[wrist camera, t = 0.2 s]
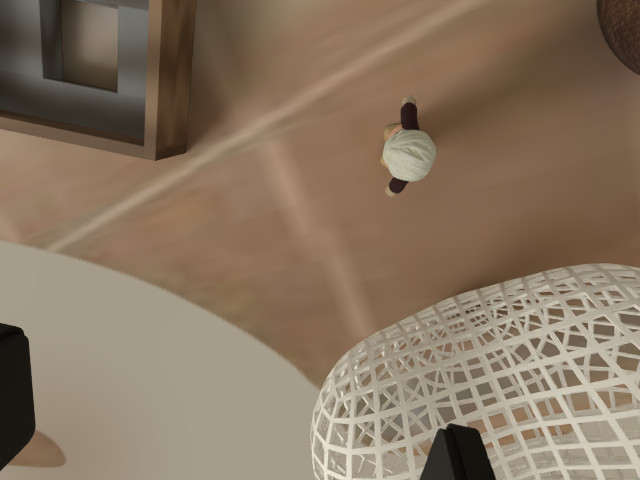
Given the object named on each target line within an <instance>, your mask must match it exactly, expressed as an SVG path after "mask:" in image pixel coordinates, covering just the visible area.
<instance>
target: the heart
mask: <svg viewBox="0 0 640 480" xmlns="http://www.w3.org/2000/svg"><path fill="white" fill-rule="evenodd" d="M583 271H591V272H583ZM597 276H603V277H604V278H593V277H597ZM620 276H627V277H635V278H636V279H625V278H622V277H620ZM551 279H555V280H552V281H551ZM637 279H638V280H637ZM541 280H545V281H544V282H542V281H541ZM585 282H590V283H591V284H593V285H594V286H586V284H585ZM600 282H608V283H604V284H601V283H600ZM573 283H576V284H577V285H578V286H576V285H575V284H573ZM561 284H565V285H567V286H563V287H555V286H557V285H561ZM532 287H533V288H532ZM635 287H640V268H636V267H631V266H625V265H619V264H609V263H604V264H585V265H577V266H569V267H563V268H558V269H553V270H548V271H544V272H540V273H536V274H533V275H529V276H525V277H521V278H517V279H514V280H510V281H506V282H502V283H498V284H495V285H491V286H487V287H484V288H479V289H475V290H472V291H468V292H465V293H462V294H459V295H456V296H453V297H451V298H448V299H446V300H443V301H441V302H439V303H436V304H434V305H432V306H430V307H428V308H426V309H424V310H422V311H420V312H418V313H416V314H414V315H412V316H410V317H408V318H406V319H404V320H401V321H399V322H397V323H395V324H393V325H391V326H389V327H387V328H385V329H383V330H381V331H379V332H377V333H375V334H374V335H372V336H370V337H368V338H367V339H365V340H363V341H362V342H360V343H359V344H358V345H356V346H355V347H353V348H352V349H351V350H349V351H348V352H347V353H346V354H345V355H344V356H343V357H341V358H340V360H339V361H338V362H337V364H336V365H335V366H334V368H333V369H332V371H331V372H330V374H329V375H328V377H327V379H326V380H325V382H324V385H323V387H322V390H321V392H320V395H319V397H318V400H317V403H316V406H315V408H314V412H313V418H312V424H311V433H310V436H311V450H312V460H313V469H314V472H315V477H316V480H335V478H338V479H340V480H401V479H404V480H407V478H411V480H420V476H419V475H420V474H422V472H423V469H424V466H425V463H426V461H427V457H426V455H425V454H424V453H423V451H422V450H421V449H420V447H419V446H418V445H419V444H420V443H422V442H423V441H425V440H426V439H428V438H429V439H430V440H431V442H432V443H433V441H434V439H433V437H432V436H434V438H435V436H436V433H437V431H438V429H439V428H442V429H446V427H447V425H448V424H449V423H452V424H457V425H461V426H466V427H468V426H467V424H466V423H468V422H472V421H475V420H479V419H482V420H483V422H484V424H485V426H486V428H487V430H488V431H487V432H485V433H482V434H480V435H481V438H482V441H483V444H484V445H485V444H487V443H489V442H491V441H492V443H493V445H494V448H495V450H494V451H492V452H490V453H487V455H488V458H489V459H490V458H493V457H495V456H497V455H498V458H496V459H495V460H493V461H490V463H491V466H492V469H493V468H495V467H497V466H499V465H502V467H503V469H502V470H500V471H498V472H496V473H494V474H495V477H496V480H497V479H499V478H501V477H502V476H504V475H506V477H505V478H503V479H501V480H520V479H522V478H526V477H528V476H531V475H532V478H531V479H528V480H640V455H637V453H636V451H635V450H634V448H633V446H632V445H639V444H640V430H633V431H624V429H623V427H622V424H621V421H620V419H619V418H625V417H632V416H636V418H637V420H638V422H639V424H640V407H637V399H638V400H639V401H640V389H639V385H640V362H639V365H638V368H637V371H630V370H624V369H621V368H620V367H619V366H618V365H617V364H616V362H617V357H618V355H619V356H625V357H630V358H636V359H640V355H635V354H629V353H623V352H619V347H620V346H621V345H624V344H627V343H633V344H634V345H635V346H636V347H637V348H638V349H639V350H640V325H634V324H627V323H622V322H621V319H620V314H619V313H622V314H630V315H638V316H640V288H635ZM518 289H525V290H522V291H517V290H518ZM565 290H574V291H571V292H568V293H565V294H562V295H561V294H560V293H559V292H558V291H565ZM608 290H610V291H618V292H619V293H620V294H621V295H622V296H623V297H620V296H612V295H611V294H610V292H609V291H608ZM549 291H551V292H552V293H553V294H554V295H543V296H541V295H540V294H539V293H538V292H549ZM600 291H601V293H602V294H603V295H594V294H593V293H596V292H600ZM629 292H630V293H631V294H630V293H629ZM532 294H534V295H535V296H533V295H532ZM508 295H513V296H510V297H508ZM498 296H501V297H498ZM519 299H520V300H521V302H522V303H516V302H515V301H517V300H519ZM525 299H529V300H530V302H531V303H527V302H526V300H525ZM535 299H538V300H539V303H536V301H535ZM544 299H548V300H545V301H544ZM570 299H581V300H582V303H583V305H584V306H573V305H567V304H566V302H565V301H567V300H570ZM588 299H590V300H591V302H592V303H593V304H594V305H595V306H596V307H593V306H590V303H589V301H588ZM473 300H475V301H473ZM488 300H490V301H488ZM494 300H501V301H499V302H496V301H494ZM600 300H607V301H608V303H609V305H610V306H606V307H605V306H604V305H603V304H602V303H601V301H600ZM467 301H471V302H469V303H467ZM615 301H624V302H620V303H617V304H616V302H615ZM462 303H464V304H462ZM558 303H560V305H555V304H558ZM478 304H480V305H481V307H475V305H478ZM487 304H492V305H489V306H487ZM505 305H507V308H500V307H502V306H505ZM512 305H517V306H523V307H524V309H522V310H516V309H514V308H513V306H512ZM528 306H529V307H528ZM470 307H473V308H470ZM631 307H635V308H636V309H637V310H639V311H636V310H627V309H628V308H631ZM448 308H450V309H448ZM480 308H482V309H480ZM548 308H557V309H563V312H564V316H565V317H563V316H555V315H549V312H548ZM445 309H447V310H446V311H443V310H445ZM471 309H474V310H475V311H474V312H471V311H470V310H471ZM477 309H479V310H477ZM497 309H498V310H506V311H508V315H504V314H499V313H497ZM542 309H543V313H544V314H543V313H542V312H541V310H542ZM571 309H573V310H586V313H584V314H581V315H578V316H575V315H574V313H573V312H572V310H571ZM466 310H469V312H470V313H469V314H466V312H465V311H466ZM490 311H493V312H494V313H491V312H490ZM440 312H441V313H440ZM535 312H536V313H535ZM457 313H459V314H460V313H461V314H460V317H457V316H456V314H457ZM612 313H613V314H612ZM482 314H484V315H485V316H486V317H484V318H482V317H481V315H482ZM491 314H494V318H493V317H492V315H491ZM447 315H449V316H447ZM452 315H455V317H456V318H454V319H452V317H451V316H452ZM461 315H462V316H461ZM497 315H500V316H504V317H502V318H499V319H497ZM530 315H535V316H538V317H539V319H540V320H541V322H542V324H540V323H536V322H533V321H530ZM446 316H447V317H446ZM477 316H479V317H480V318H481V319H480V320H477V319H476V318H475V317H477ZM523 316H525V319H521V317H523ZM602 316H605V317H606V318H607V319H608V320H609V321H601V320H594V319H596V318H599V317H602ZM443 317H444V318H443ZM449 317H450V319H451V320H448V321H447V318H449ZM472 318H474V319H475V320H476V321H475V322H473V323H472V322H471V321H470V319H472ZM486 318H488V320H489V322H488V321H486V320H485V319H486ZM549 318H552V319H559V320H563V321H560V322H557V323H554V324H551V325H549ZM432 320H433V321H432ZM436 320H437V322H438V323H437V324H435V325H432V324H433V323H434V322H435V321H436ZM483 320H484V321H486V322H487V323H486V324H483V325H482V324H481V323H480V322H481V321H483ZM513 320H514V322H515V324H516V326H515V325H513V324H512V321H513ZM519 320H520V321H523V322H525V325H524V329H523V327H522V325H521V323H520V321H519ZM430 321H432V322H431V323H430ZM464 321H465V322H464ZM460 322H463V323H464V325H465V326H462V327H460V326H459V323H460ZM465 323H466V324H465ZM478 323H479V324H480V325H481V326H478V327H475V326H474V325H476V324H478ZM582 323H588V330H587V329H586V328H585V327H584V326H583V325H582ZM426 324H427V326H426V327H425V326H424V325H426ZM454 324H458V328H455V329H454ZM502 324H507V325H506V327H505V329H504V330H503V329H501V328H499V327H497V326H500V325H502ZM529 324H534V325H537V326H540V327H542V328H539V329H536V330H533V331H531V332H530V331H528V330H529ZM594 324H601V325H610V326H615V332H614V336H610V335H601V334H594ZM451 325H452V328H453V329H451V330H450V329H449V327H448V326H451ZM574 325H576V327H577V328H578V329H579V330H580V332H577V331H570V327H571V326H574ZM472 326H473V327H474V328H473V327H472ZM511 326H512V327H515V328H517V329H518V330H519V332H520V334H521V335H519V336H516V337H515V336H514V335H512V334H510V333H508V331H509V329H510V327H511ZM414 328H416V329H415V330H414V331H412V330H413V329H414ZM443 328H444V329H445V331H444V329H443ZM465 328H466V331H463V332H461V330H462V329H465ZM467 328H468V329H469V330H468V329H467ZM492 328H493V331H494V333H495V335H496V336H495V335H494V334H493V333H492V332H490V331H489V330H490V329H492ZM628 328H631V329H638V331H636V332H634V333H633V332H632V331H631V330H629V329H628ZM438 329H439V330H438ZM498 329H499V330H501V331H503V332H502V333H501V334H500V332H499V330H498ZM405 330H406V331H405ZM434 330H438V331H437V332H435V331H434ZM440 330H442V332H443V333H447V335H446V337H444V338H441V337H442V335H443V333H442V334H441V336H440V337H439V336H438V335H437V334H438V332H439V331H440ZM410 331H411V332H410ZM454 331H459V332H460V333H457V334H454ZM487 331H488V332H489V333H490V334H491V335H492V336H493V337H495V338H496V339H494V340H493V341H491V342H490V343H487V341H486V340H485V339H484V338H483V336H482V334H484V333H486V332H487ZM555 331H559V332H563V333H565V334H564V340H563V344H562V343H561V342H560V340H559V339H558V337H557V336H556V334H555V333H554V332H555ZM431 332H432V334H433V335H434V336H433V337H432V339H431V337H430V333H431ZM451 332H453V335H452V333H451ZM621 333H622V334H623V335H625V336H622V337H621ZM400 334H401V335H400ZM422 334H424V336H425V337H424V336H423V335H422ZM506 334H508V335H509V336H511V337H513V338H510V339H507V340H504V341H503V339H502V338H503V337H504V336H505V335H506ZM548 334H549V335H550V337H551V338H552V340H550V339H547V336H548ZM570 334H574V335H581V336H585V338H586V339H587V347H586V348H583V347H575V346H568V342H569V336H570ZM394 336H395V337H394ZM414 336H416V337H415V338H414V339H413V340H412V341H411V339H410V338H411V337H414ZM478 336H480V337H481V339H482V340H483V341H484V343H485V344H486V345H484V346H481V344H480V342H479V340H478V338H477V337H478ZM419 337H420V339H421V341H420V343H419V344H418V345H416V346H413V345H412V344H413V343H414V342H415V341H416V340H417V339H418V338H419ZM435 337H436V338H437V340H434V341H432V340H433V339H434V338H435ZM594 337H595V338H603V339H611V340H610V341H607V342H603V343H600V344H599V343H598V342H597V341H596V340H595V339H594ZM382 338H383V340H382V341H380V342H379V343H378V341H379V340H381V339H382ZM534 338H540V339H541V341H540V343H539V345H538V347H537V350H536V349H535V348H534V347H533V345H532V343H531V342H530V339H534ZM426 339H427V341H428V342H427V341H426ZM473 339H474V341H473ZM401 340H402V341H401ZM467 340H471V342H472V344H473V346H474V349H473V350H469V351H465V349H464V344H463V341H467ZM399 341H401V342H400V343H399ZM546 341H547V342H549V343H552V344H554V345H556V346H557V348H558V349H559V351H560V355H557V356H553V357H549V358H548V357H547V356H545V355H544V354H542V353H541V351H542V349H543V347H544V345H545V342H546ZM405 342H406V344H407V346H406V347H405V348H404V349H403V350H400V349H399V347H400V346H402V345H403V344H404V343H405ZM457 342H461V344H462V350H463V352H460V349H459V347H458V345H457ZM474 342H475V343H474ZM497 342H498V343H497ZM422 343H423V344H422ZM447 343H452V352H451V353H450V352H444V348H445V344H447ZM393 344H394V346H395V347H394V348H393V349H391V347H390V346H391V345H393ZM443 344H444V345H443ZM475 344H476V345H475ZM521 344H524V345H525V346H527V347H528V349H529V351H530V353H531V355H530V356H529V357H528V358H527V359H526V360H523V359H522V358H521V357H520V356H519V355H518V354H516V353H515V352H514V351H515V350H516V349H517V348H518V347H519V346H520V345H521ZM440 345H443V349H442V351H440V350H438V349H436V347H437V346H440ZM512 345H513V346H512ZM476 346H477V347H476ZM509 346H512V347H511V348H510V347H509ZM379 348H381V349H380V350H378V351H377V352H376V353H374V351H375V350H377V349H379ZM611 348H613V350H612V351H610V350H608V349H611ZM427 349H431V350H432V353H431V355H430V357H429V359H428V361H427V360H426V359H425V358H423V357H422V356H423V355H424V353H425V351H426V350H427ZM500 349H503V351H504V353H502V354H501V355H499V356H498V355H497V354H496V353H495V351H497V350H500ZM567 349H571V350H576V351H572V352H569V353H568V352H567ZM387 350H388V353H387ZM454 350H455V352H456V353H454ZM395 351H396V352H395ZM420 351H423V352H422V353H421V355H420V354H419V353H418V352H420ZM356 352H357V353H356ZM393 352H394V353H393ZM491 352H492V353H493V355H494V356H495V358H493V359H490V360H488V359H487V357H486V355H485V354H488V353H491ZM355 353H356V354H355ZM381 353H382V357H380V358H378V359H375V360H373V359H374V358H376V357H377V356H378V355H379V354H381ZM511 353H512V354H513V355H514V356H515V357H516V358H517V359H518V360H519V361H520V362H521V363H520V364H518V365H515V363H514V361H513V359H512V357H511V355H510V354H511ZM595 353H599V355H600V356H601V357H602V358H603V359H604V360H605V361H606V363H607V364H608V365H609V367H594V366H589V365H590V358H591V354H595ZM354 354H355V355H354ZM433 354H434V357H435V359H436V362H437V363H434V364H433V363H431V362H430V361H431V358H432V356H433ZM439 354H440V356H439ZM608 354H612V355H611V357H610V356H609V355H608ZM407 355H409V357H408V358H407V359H406V360H404V358H403V357H404V356H407ZM443 355H444V356H451V358H450V359H446V360H443V361H441V360H442V356H443ZM538 355H539V356H541V357H542V358H543V359H540V357H539V356H538ZM454 356H456V357H454ZM583 356H585V359H584V366H577V365H576V363H575V362H574V360H573V359H576V358H579V357H583ZM365 357H367V360H366V361H365V362H364V363H363V364H362V365H361V366H360V362H361V361H362V360H363V359H364V358H365ZM411 357H412V358H413V361H414V364H415V365H414V366H413V368H411V367H410V366H409V365H408V364H407V363H408V361H409V360H410V359H411ZM475 357H478V358H479V361H480V363H479V364H475V365H471V366H468V363H467V360H469V359H472V358H475ZM481 357H482V358H481ZM504 357H506V358H507V360H508V362H509V364H510V366H511V368H508V369H507V367H506V366H505V365H504V363H503V362H502V361H501V359H502V358H504ZM398 359H399V360H400V361H401V363H402V365H401V366H400V368H399V369H398V368H397V364H396V361H397V360H398ZM482 359H483V360H482ZM533 359H534V360H535V361H534V362H531V361H532V360H533ZM420 360H421V361H422V362H423V363H425V364H426V366H425V367H421V366H420V363H419V361H420ZM389 361H391V362H390V363H389ZM483 361H484V362H483ZM496 361H498V362H499V363H500V365H501V366H502V368H503V369H504V370H501V371H498V372H493V370H492V368H491V366H490V364H491V363H494V362H496ZM564 361H567V363H568V364H569V365H562V364H563V362H564ZM353 362H354V363H353ZM383 363H385V366H386V367H385V368H384V369H383V370H382V371H381V372H380V373H379V374H378V375H377V374H376V372H375V368H376V367H377V366H378V365H381V364H383ZM457 363H461V366H462V367H456V368H453V365H454V364H457ZM551 364H552V365H553V366H554V367H552V368H550V369H549V370H547V369H546V368H545V366H547V365H551ZM391 366H392V367H393V370H394V371H393V370H392V368H391ZM448 366H451V368H449V367H448ZM347 367H348V368H347ZM354 367H355V369H354ZM404 367H406V368H407V370H408V371H409V372H406V373H403V374H400V375H399V373H400V372H401V370H402V369H403V368H404ZM480 367H482V368H483V370H484V372H485V376H482V377H479V378H476V379H472V377H471V374H470V371H469V370H472V369H476V368H480ZM415 368H416V369H415ZM535 368H539V369H540V371H541V374H540V375H538V376H537V375H536V374H535V372H534V371H533V370H532V369H535ZM387 370H388V371H389V373H390V375H391V376H392V377H391V378H388V379H385V380H382V381H379V378H380V377H381V376H382V375H383V374H384V373H385V372H386V371H387ZM436 370H437V371H436ZM439 370H440V372H441V374H442V377H443V380H444V383H437V382H438V376H439ZM527 370H528V372H529V373H530V374H531V375H532V377H533V378H531V379H529V380H527V381H524V380H523V378H522V376H521V374H520V372H523V371H527ZM562 370H573V371H574V373H575V374H576V376H577V377H578V379H579V380H580V381H581V383H582V384H583V385H578V386H572V387H567V384H566V380H565V377H564V374H563V371H562ZM581 370H584V374H583V373H582V372H581ZM589 370H598V371H609V377H608V379H607V380H602V381H598V382H593V383H590V374H589ZM365 371H366V372H365ZM433 371H436V376H435V382H433V381H431V380H429V379H427V378H424V376H425V374H426V373H430V372H433ZM446 371H449V372H451V384H450V381H449V378H448V376H447V373H446ZM457 371H464V373H465V375H466V377H467V380H468V381H467V382H465V383H457V384H454V373H453V372H457ZM556 371H557V372H558V375H559V377H560V380H561V383H562V386H563V388H560V389H558V388H557V386H556V384H555V383H554V381H553V379H552V378H551V376H550V374H552V373H554V372H556ZM363 372H365V373H364V374H363V375H362V376H361V377H360V374H361V373H363ZM488 372H489V373H488ZM340 373H341V375H340V377H339V378H338V379H337V376H338V375H339V374H340ZM348 373H349V374H348ZM614 373H616V374H617V375H618V376H619V377H616V378H614ZM369 374H371V379H372V381H371V382H370V383H369V384H368V385H367V386H366V387H363V386H362V383H361V382H362V381H363V380H364V379H365V378H366V377H367V376H368V375H369ZM511 374H515V376H516V378H517V380H518V382H519V384H517V383H516V381H515V380H514V378H513V376H512V375H511ZM626 374H628V375H626ZM504 376H508V377H509V379H510V381H511V383H512V384H513V386H512V387H509V388H506V389H503V390H501V387H500V385H499V383H498V381H497V378H501V377H504ZM414 377H417V378H418V379H420V380H419V382H418V384H417V386H416V388H415V390H414V391H413V390H412V389H410V388H409V387H408V386H407V385H405V384H406V383H407V381H408V380H409V379H411V378H414ZM543 378H545V379H546V381H547V383H548V385H549V386H550V388H551V390H549V391H545V390H544V387H543V385H542V383H541V381H540V380H541V379H543ZM355 380H356V382H355ZM402 381H403V382H402ZM633 381H634V383H633ZM349 382H350V387H351V388H350V389H349V390H348V391H347V392H346V390H345V386H346V385H347V384H348V383H349ZM485 382H489V384H490V386H491V388H492V391H493V393H490V394H486V395H482V396H479V393H478V391H477V388H476V385H479V384H482V383H485ZM534 382H536V383H537V385H538V387H539V389H540V392H538V393H533V394H530V392H529V390H528V388H527V385H529V384H532V383H534ZM396 383H397V390H396V391H395V392H394V394H393V395H392V396H391V394H390V393H389V392H388V391H387V390H386V388H387V387H388V386H390V385H393V384H396ZM426 383H427V384H429V385H431V386H433V393H432V395H429V391H428V388H427V385H426ZM619 384H625V385H626V386H627V387H628V388H629V389H625V388H617V387H613V386H614V385H619ZM420 386H422V390H423V393H424V397H422V396H420V395H419V394H417V393H418V390H419V388H420ZM356 387H358V390H356ZM437 387H439V388H447V389H446V390H443V391H440V392H438V393H436V390H437ZM402 388H404V389H405V390H406V391H408V392H409V393H410V394H411V396H410V397H409V399H408V400H407V401H406V402H405V399H404V394H403V389H402ZM468 388H470V389H471V392H472V396H473V398H470V399H464V400H459V401H457V399H456V393H457V392H460V391H462V390H465V389H468ZM520 388H522V390H523V392H524V394H525V395H524V396H523V394H522V392H521V390H520ZM379 389H380V390H379ZM514 390H516V392H517V394H518V396H519V397H516V398H512V399H508V400H506V398H505V396H504V394H505V393H508V392H511V391H514ZM372 391H373V398H372V399H371V400H370V399H369V397H368V396H367V393H370V392H372ZM596 391H609V397H610V402H611V408H607V406H606V405H605V403H604V402H603V401H602V399H601V398H600V396H599V395H598V394H597V392H596ZM614 391H616V392H625V393H632V405H633V408H631V409H630V408H616V405H615V398H614ZM340 392H341V397H340ZM382 392H383V393H384V395H385V396H386V397H387V398H388V400H387V401H386V403H385V404H384V405H383V406H382V407H381V408H380V401H379V396H380V394H381V393H382ZM579 392H587V395H588V399H589V403H590V407H591V409H590V410H580V411H575V410H574V407H573V403H572V400H571V397H570V394H571V393H579ZM325 393H326V394H325ZM397 394H398V395H399V400H400V403H399V402H398V401H397V400H396V399H395V397H396V395H397ZM562 395H566V398H567V401H568V404H569V406H568V405H567V403H566V401H565V400H564V398H563V396H562ZM447 396H449V397H450V400H451V402H440V403H435V401H436V400H439V399H441V398H444V397H447ZM362 397H363V399H364V400H365V402H366V403H367V404H366V406H365V407H364V408H363V409H362V411H361V412H360V413H359V414H358V416H357V415H356V408H357V403H358V401H359V400H360V399H361V398H362ZM414 397H416V398H417V399H419V400H416V401H413V402H411V400H412V399H413V398H414ZM492 397H496V400H497V402H498V403H495V404H492V405H489V406H486V407H484V406H483V403H482V401H481V400H484V399H488V398H492ZM555 397H556V399H557V401H558V402H559V404H560V406H561V408H562V409H563V411H564V413H560V414H554V412H553V409H552V407H551V404H550V402H549V399H551V398H555ZM335 399H336V404H335V407H334V410H333V408H332V403H333V402H334V400H335ZM350 399H351V404H350V403H349V401H348V400H350ZM593 400H594V401H593ZM541 401H545V403H546V406H547V408H548V411H549V413H550V415H548V416H543V417H542V415H541V413H540V411H539V410H538V408H537V406H536V404H535V403H537V402H541ZM373 402H374V404H373ZM390 402H393V403H394V404H395V405H396V406H397V407H395V408H391V409H388V410H385V411H383V410H384V409H385V408H386V407H387V406H388V405H389V403H390ZM472 402H475V404H476V406H477V409H478V410H476V411H473V412H471V413H469V414H466V415H464V416H463V415H462V413H461V410H460V408H459V406H458V405H462V404H467V403H472ZM594 402H595V403H596V405H597V406H598V408H599V409H595V406H594ZM343 403H344V405H345V407H346V411H345V413H344V414H343V416H342V417H341V418H337V417H338V413H339V409H340V407H341V406H342V404H343ZM516 403H517V404H516ZM512 404H513V405H512ZM423 405H427V408H426V409H424V410H423V411H422V412H421V413H420V414H418V415H417V416H415V415H414V414H413V413H411V412H410V411H409V410H412V409H415V408H417V407H420V406H423ZM509 405H510V406H509ZM528 405H530V406H531V408H532V410H533V412H534V414H535V416H536V418H534V419H533V417H532V415H531V412H530V410H529V408H528ZM447 406H453V409H454V412H455V415H456V418H457V419H455V420H452V421H450V422H448V423H446V424H445V423H444V421H443V419H442V417H441V415H440V414H439V412H438V410H437V408H438V407H447ZM369 407H370V408H371V409H372V410H373V411H374V414H369V415H365V416H363V415H364V413H365V412H366V411H367V410H368V408H369ZM520 407H524V409H525V411H526V414H527V416H528V418H529V420H525V421H521V422H517V423H516V420H515V418H514V416H513V414H512V412H511V410H513V409H517V408H520ZM569 407H570V408H569ZM400 413H402V420H403V428H400V427H399V426H398V425H397V424H395V423H394V422H393V420H394V419H395V418H396V416H397V415H398V414H400ZM426 413H429V417H430V422H431V426H432V429H431V430H429V431H428V430H427V429H426V428H425V426H424V425H423V424H422V422H421V421H420V420H419V419H420V418H421V417H422V416H424V415H425V414H426ZM499 413H503V415H504V417H505V419H506V422H507V424H508V425H506V426H503V427H500V428H496V429H493V428H492V425H491V423H490V420H489V418H488V417H489V416H492V415H496V414H499ZM348 414H350V418H346V417H347V416H348ZM407 415H408V416H409V417H411V418H412V419H413V420H412V421H410V422H409V423H408V416H407ZM435 415H436V417H437V418H438V420H439V422H440V423H441V426H439V427H438V425H437V421H436V417H435ZM325 416H326V417H327V418H328V420H327V422H326V424H325V426H324V428H323V430H322V427H321V425H322V422H323V419H324V417H325ZM389 416H392V417H391V418H390V419H389V418H388V417H389ZM381 419H383V420H384V421H385V422H386V423H385V425H384V426H383V427H382V428H381ZM603 420H607V421H608V423H609V424H610V426H611V427H612V429H613V430H614V432H610V433H603V430H602V427H601V425H600V422H599V421H603ZM593 421H595V423H596V425H597V428H598V431H599V433H591V434H584V433H583V431H582V429H581V427H580V424H579V423H583V422H593ZM363 422H369V423H368V424H367V425H365V424H364V423H363ZM373 422H374V423H375V433H374V432H373V431H371V430H370V429H369V427H370V426H371V425H372V424H373ZM415 422H416V423H417V424H418V425H419V427H420V428H421V429H422V430H423V431H424V432H423V433H421V434H418V435H416V436H413V437H411V436H410V430H409V427H410V426H411V425H413V424H414V423H415ZM342 424H349V429H348V431H347V432H346V434H344V433H343V431H342V430H341V429H340V426H341V425H342ZM356 424H357V425H358V426H359V427H360V428H361V429H362V430H363V431H362V433H361V434H360V436H359V438H358V439H357V441H356V442H355V427H356ZM563 424H571V425H572V427H573V429H574V431H575V433H576V434H573V435H572V434H571V435H562V433H561V430H560V428H559V425H563ZM388 425H390V426H392V427H393V428H394V429H396V430H397V431H398V434H397V435H396V436H395V437H394V438H393V439H392V441H391V442H390V443H388V442H387V441H385V440H384V439H382V436H381V434H382V433H383V432H384V430H385V429H386V428H387V427H388ZM553 425H554V427H555V429H556V432H557V434H558V435H556V436H551V434H550V432H549V430H548V427H547V426H553ZM538 427H541V428H542V431H543V433H544V435H545V437H541V436H540V434H539V431H538V429H537V428H538ZM328 428H329V429H328ZM529 429H533V430H534V433H535V435H536V438H534V439H529V440H524V438H523V436H522V434H521V432H520V431H524V430H529ZM327 430H328V433H327V438H326V437H325V434H326V432H327ZM365 433H367V434H368V435H370V436H371V437H372V438H374V439H373V441H372V442H371V444H370V446H369V447H362V448H357V447H358V445H359V443H360V442H361V440H362V438H363V437H364V435H365ZM336 434H338V436H339V437H340V439H341V440H342V441H341V443H340V445H336V444H332V443H333V441H334V439H335V436H336ZM401 434H402V435H403V436H404V437H405V439H404V440H400V441H396V440H397V439H398V438H399V437H400V436H401ZM510 434H512V435H513V437H514V439H515V441H516V443H513V444H510V445H507V446H504V447H500V445H499V442H498V440H497V439H499V438H501V437H504V436H507V435H510ZM318 438H319V441H318ZM615 438H616V439H615ZM598 439H600V440H598ZM571 440H580V441H571ZM395 441H396V442H395ZM555 441H560V442H558V443H555ZM565 441H570V442H565ZM545 442H548V444H544V443H545ZM354 443H355V444H354ZM538 443H539V445H537V446H532V447H527V446H528V445H533V444H538ZM345 444H346V445H347V447H344V445H345ZM382 444H383V445H382ZM374 445H375V446H374ZM373 446H374V447H373ZM404 446H406V451H405V452H404V453H401V452H400V451H399V450H398V449H397V448H400V447H404ZM612 446H613V447H614V446H624V448H625V450H626V452H627V454H628V456H618V457H614V456H613V454H612V451H611V449H610V447H612ZM322 447H323V449H324V451H325V452H324V458H323V459H322V458H321V456H320V453H321V448H322ZM592 447H605V449H606V450H607V453H608V456H609V457H598V456H595V454H594V452H593V450H592ZM414 448H416V449H417V451H418V452H419V453H420V455H421V456H422V457H423V458H424V460H425V461H424V462H423V463H421V464H419V465H418V466H417V467H415V462H414V455H413V449H414ZM516 448H519V450H517V451H514V452H512V453H509V454H506V455H504V454H503V453H504V452H507V451H510V450H513V449H516ZM575 448H584V450H585V452H586V454H587V456H570V453H569V451H568V449H575ZM558 449H563V450H564V453H565V455H566V456H561V455H560V453H559V451H558ZM331 450H334V451H337V453H336V455H334V454H333V452H332V451H331ZM389 450H391V451H393V452H394V453H396V454H397V455H398V456H400V459H399V460H398V462H397V463H396V465H395V466H394V468H391V467H390V466H388V465H386V464H384V463H383V460H384V458H385V456H386V454H387V453H388V451H389ZM550 450H552V452H553V454H554V456H549V455H548V453H547V451H550ZM382 452H383V454H382ZM538 452H543V454H544V457H539V458H533V459H532V456H531V454H532V453H538ZM341 453H344V454H346V457H347V458H346V465H345V466H344V465H343V464H342V463H341V462H340V461H339V457H340V455H341ZM374 453H375V458H373V457H371V456H369V454H374ZM354 455H359V456H360V457H362V458H363V459H362V462H361V465H360V468H359V471H358V474H356V473H354ZM406 456H407V457H406ZM522 456H523V458H524V461H521V462H518V463H516V464H513V465H509V463H508V461H510V460H513V459H516V458H519V457H522ZM366 460H367V461H369V462H371V463H373V464H375V465H376V469H375V472H374V475H373V477H361V475H362V472H363V469H364V466H365V463H366ZM402 460H404V461H405V462H406V463H407V464H408V465H409V470H407V471H403V472H399V471H397V470H396V469H397V468H398V466H399V465H400V463H401V462H402ZM331 461H332V463H333V466H332V468H330V466H331ZM552 462H557V463H554V464H552ZM541 463H547V464H548V465H542V466H535V464H541ZM526 466H527V467H528V469H526V470H523V471H520V472H517V473H515V474H514V473H513V471H515V470H518V469H520V468H523V467H526ZM337 468H339V469H340V470H341V471H342V472H343V473H341V472H339V471H337V470H336V469H337ZM383 469H385V470H387V471H389V472H391V474H390V475H386V476H384V470H383ZM570 469H571V470H572V472H573V475H569V473H568V471H567V470H570ZM576 469H593V471H594V473H595V475H596V477H591V476H581V475H578V473H577V470H576ZM602 469H615V471H616V473H617V475H618V477H619V479H615V478H605V477H604V474H603V472H602ZM620 469H635V470H636V472H637V474H638V477H639V479H625V478H624V476H623V474H622V472H621V470H620ZM558 470H561V472H562V475H557V474H556V472H555V471H558ZM544 472H551V473H552V475H548V476H540V475H539V473H544Z"/></svg>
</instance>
